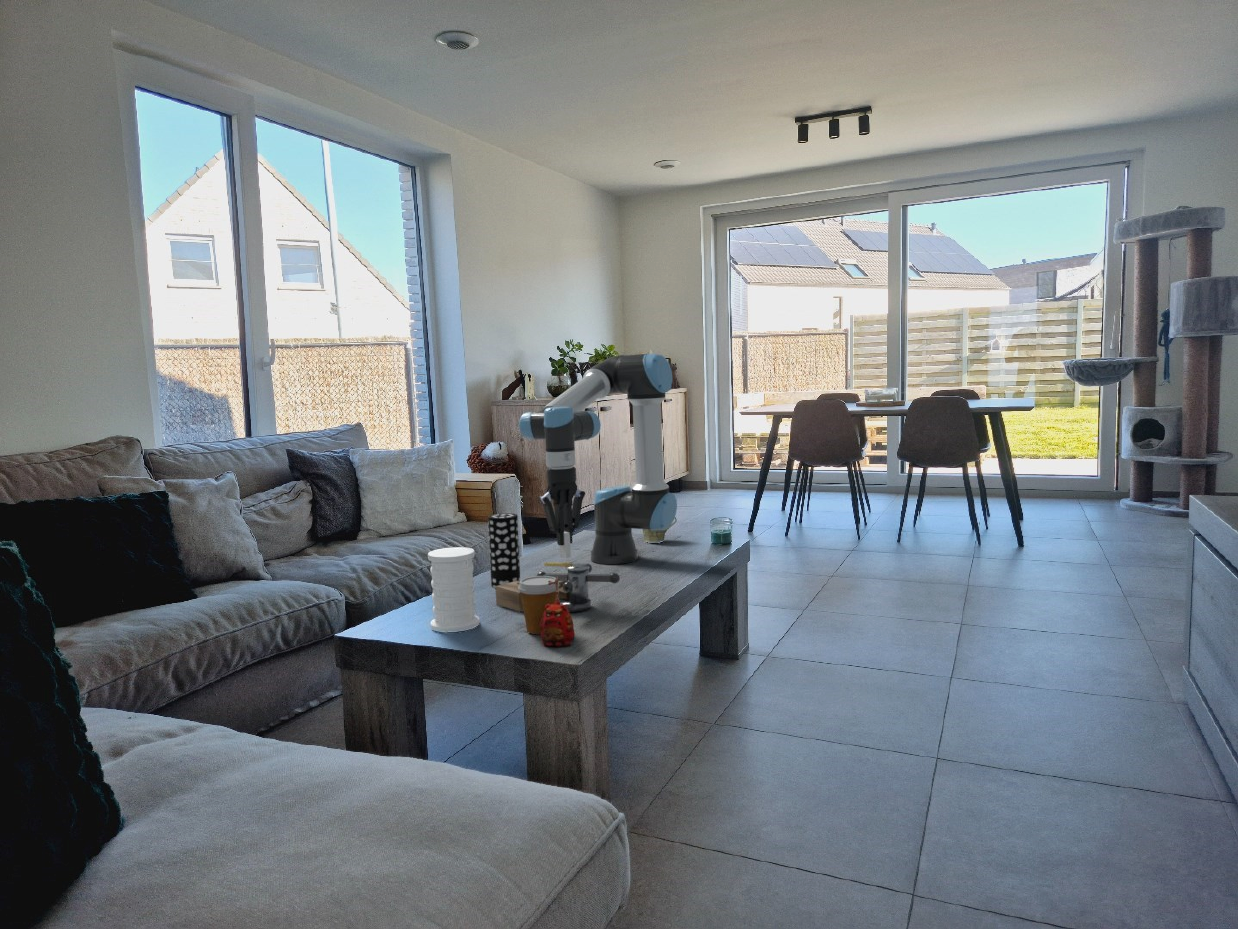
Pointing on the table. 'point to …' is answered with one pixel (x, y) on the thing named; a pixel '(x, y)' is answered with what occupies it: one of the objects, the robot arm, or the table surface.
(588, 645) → the table surface
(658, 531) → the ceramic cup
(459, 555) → the decorative container
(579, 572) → the capstan
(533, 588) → the disposable coffee cup
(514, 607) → the walnut stand
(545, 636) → the red clay folk toy
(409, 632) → the table surface
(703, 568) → the table surface
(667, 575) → the table surface
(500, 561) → the spotted tube
